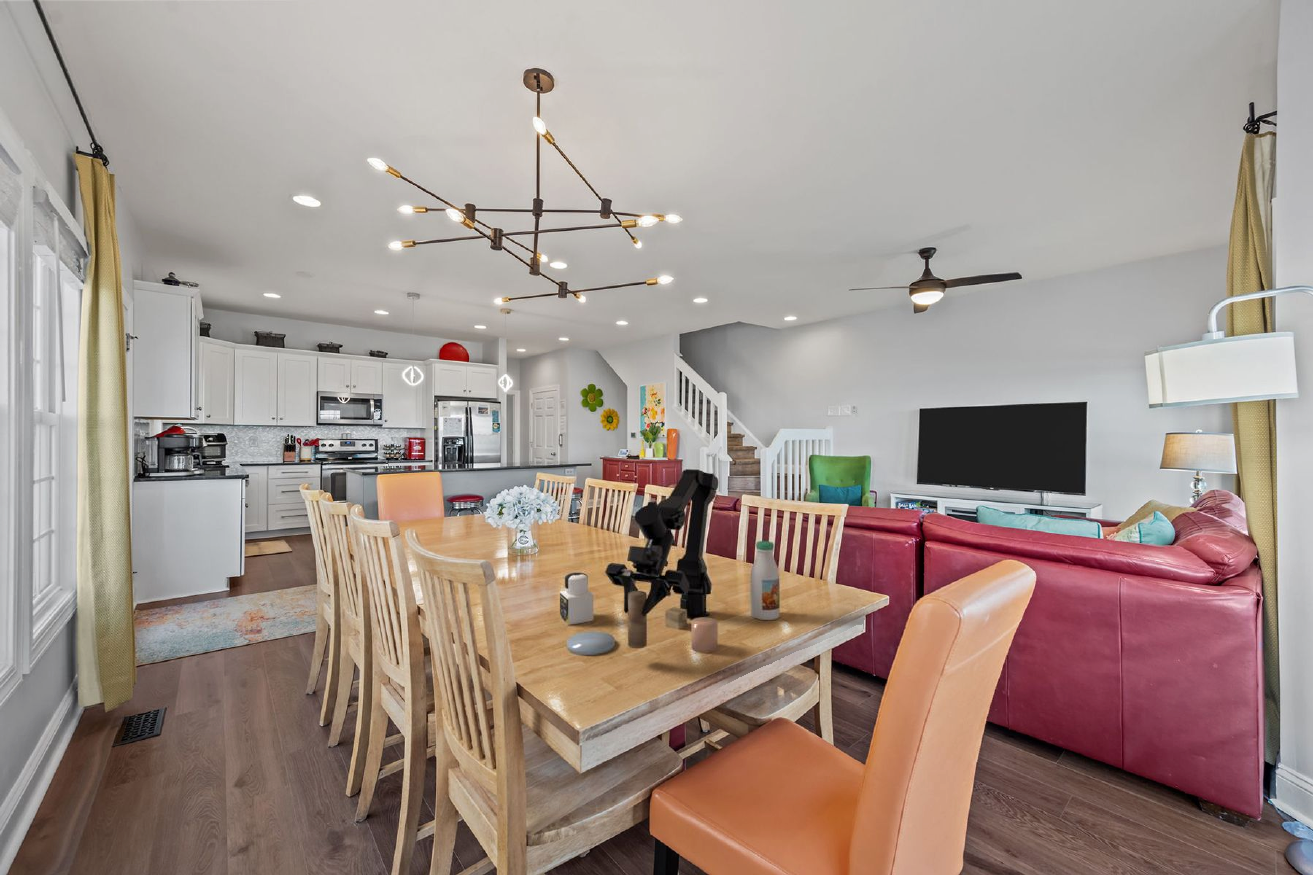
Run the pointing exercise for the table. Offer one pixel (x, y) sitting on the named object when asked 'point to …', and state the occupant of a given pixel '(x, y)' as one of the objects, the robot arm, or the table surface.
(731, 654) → the table surface
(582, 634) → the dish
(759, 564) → the milk bottle
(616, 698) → the table surface
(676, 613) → the oak block
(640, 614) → the brown cylinder
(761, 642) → the table surface
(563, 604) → the medicine bottle
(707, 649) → the short mauve cylinder
